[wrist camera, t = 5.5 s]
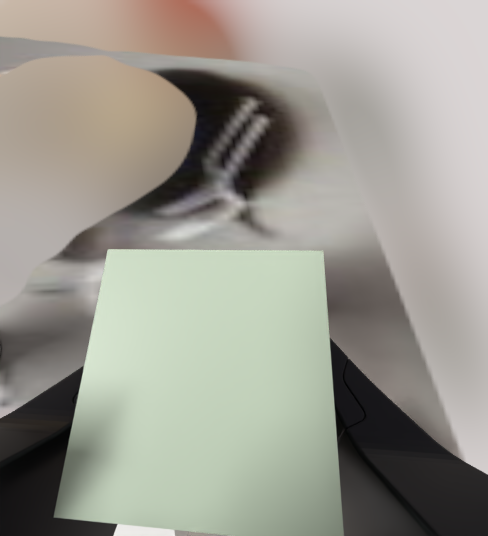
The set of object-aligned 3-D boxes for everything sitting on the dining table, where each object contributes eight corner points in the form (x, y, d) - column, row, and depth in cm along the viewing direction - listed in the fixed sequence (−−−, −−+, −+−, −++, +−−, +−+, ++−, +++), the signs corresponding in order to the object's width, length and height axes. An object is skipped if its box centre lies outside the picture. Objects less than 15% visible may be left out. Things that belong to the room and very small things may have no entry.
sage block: (273, 360, 14) (344, 547, 3) (213, 357, 15) (53, 517, 3) (272, 299, 15) (323, 250, 4) (217, 297, 16) (107, 249, 4)
